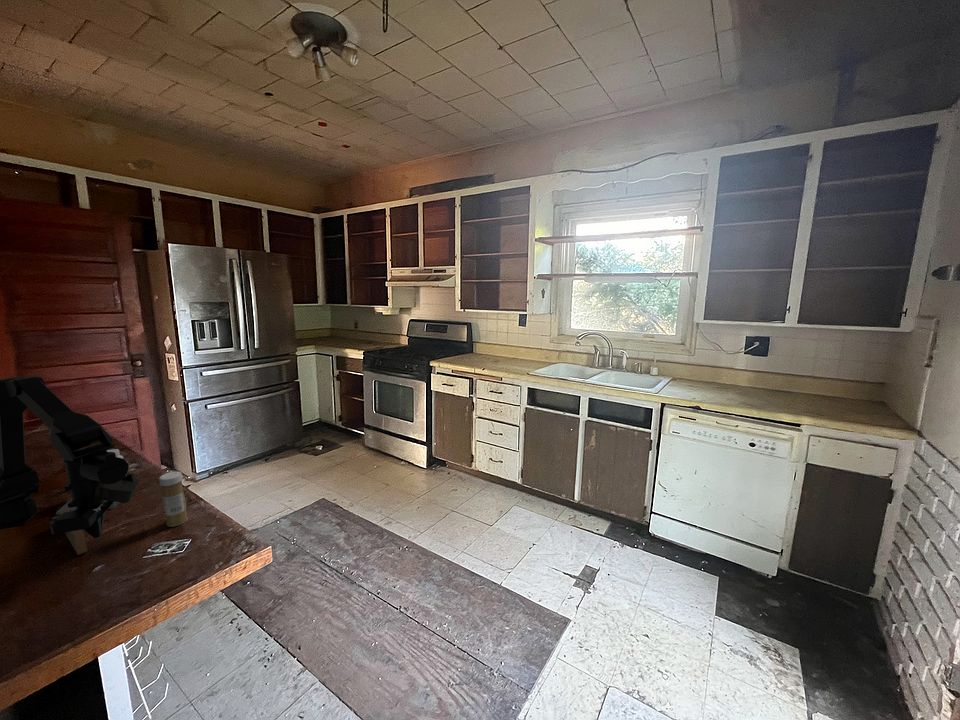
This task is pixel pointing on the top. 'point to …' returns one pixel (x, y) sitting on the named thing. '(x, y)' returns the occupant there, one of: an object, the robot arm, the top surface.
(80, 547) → the brown bar with knob
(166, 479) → the sprinkles bottle
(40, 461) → the top surface
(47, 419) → the robot arm
